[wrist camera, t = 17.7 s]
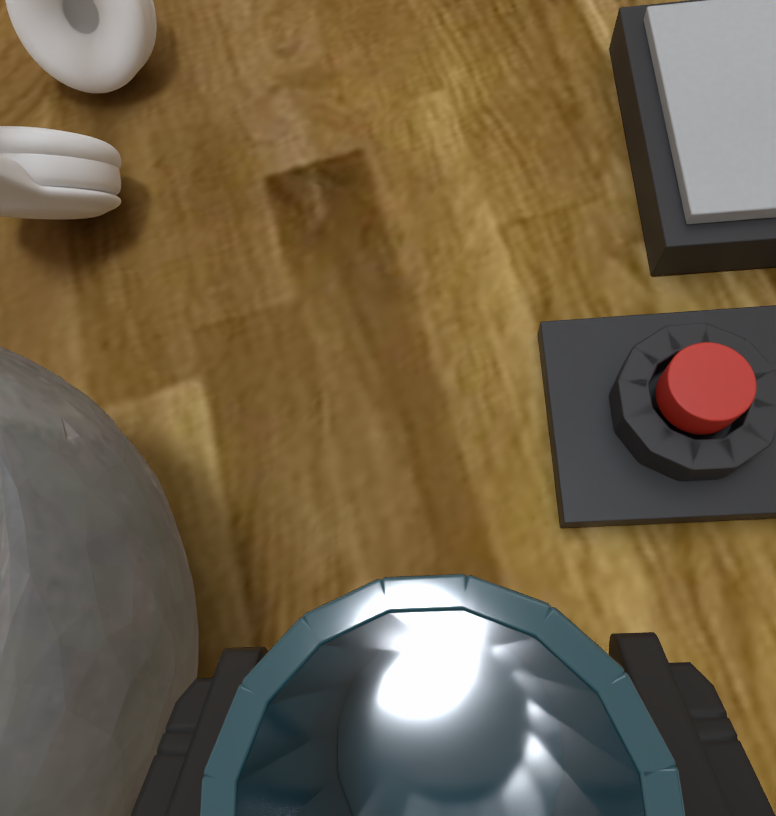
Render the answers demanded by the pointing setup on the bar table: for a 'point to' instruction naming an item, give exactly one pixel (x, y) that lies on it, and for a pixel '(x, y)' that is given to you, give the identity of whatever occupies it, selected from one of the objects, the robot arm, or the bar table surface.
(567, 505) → the pad
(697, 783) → the robot arm
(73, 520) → the bowl
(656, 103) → the scale
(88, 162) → the headphones
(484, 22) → the bar table surface
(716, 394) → the button
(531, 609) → the cup
